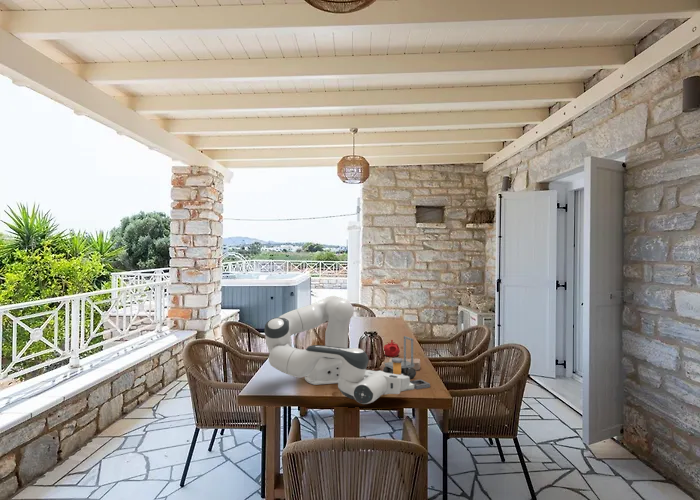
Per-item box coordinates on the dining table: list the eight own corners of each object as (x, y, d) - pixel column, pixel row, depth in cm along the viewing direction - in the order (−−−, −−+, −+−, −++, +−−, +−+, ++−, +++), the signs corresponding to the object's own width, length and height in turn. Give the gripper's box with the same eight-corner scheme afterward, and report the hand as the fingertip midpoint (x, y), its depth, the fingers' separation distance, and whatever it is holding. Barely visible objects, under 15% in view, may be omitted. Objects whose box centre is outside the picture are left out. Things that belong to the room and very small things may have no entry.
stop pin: (394, 388, 176) (394, 360, 176) (390, 384, 180) (390, 358, 180) (404, 387, 177) (404, 360, 177) (400, 383, 182) (399, 357, 182)
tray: (392, 392, 171) (392, 387, 171) (380, 385, 181) (380, 380, 182) (414, 389, 176) (414, 384, 176) (401, 382, 186) (401, 377, 186)
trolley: (392, 381, 186) (392, 341, 187) (383, 376, 195) (383, 337, 195) (416, 378, 192) (415, 339, 192) (406, 373, 200) (405, 335, 200)
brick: (387, 369, 208) (388, 360, 208) (389, 365, 216) (389, 356, 216) (420, 371, 204) (420, 362, 204) (420, 367, 212) (420, 358, 212)
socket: (416, 389, 176) (416, 385, 176) (407, 384, 182) (407, 381, 182) (430, 387, 179) (430, 383, 179) (421, 382, 185) (421, 379, 185)
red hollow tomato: (379, 355, 236) (379, 340, 236) (391, 353, 243) (391, 337, 243) (391, 358, 229) (391, 342, 229) (403, 355, 235) (403, 339, 235)
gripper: (355, 386, 164) (369, 377, 177) (402, 394, 155) (413, 384, 167) (356, 371, 164) (369, 363, 177) (403, 378, 155) (413, 369, 167)
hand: (391, 373), depth 172 cm, fingers open, 8 cm apart
